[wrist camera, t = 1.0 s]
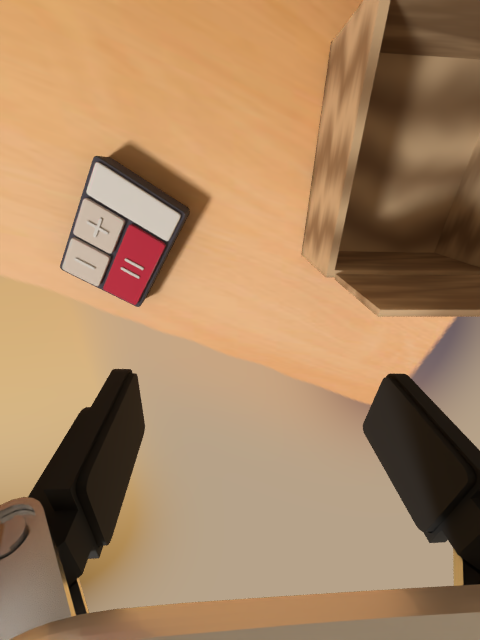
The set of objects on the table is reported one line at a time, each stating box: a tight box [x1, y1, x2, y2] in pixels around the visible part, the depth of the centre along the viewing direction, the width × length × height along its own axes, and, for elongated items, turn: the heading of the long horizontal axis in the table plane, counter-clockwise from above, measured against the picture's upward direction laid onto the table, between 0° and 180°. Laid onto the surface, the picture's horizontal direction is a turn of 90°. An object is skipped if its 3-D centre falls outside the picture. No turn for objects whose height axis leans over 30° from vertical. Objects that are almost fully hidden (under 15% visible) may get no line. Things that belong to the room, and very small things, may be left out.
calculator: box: [60, 156, 190, 307], centre depth 33 cm, size 11×4×15 cm
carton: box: [302, 0, 480, 317], centre depth 24 cm, size 22×20×19 cm
